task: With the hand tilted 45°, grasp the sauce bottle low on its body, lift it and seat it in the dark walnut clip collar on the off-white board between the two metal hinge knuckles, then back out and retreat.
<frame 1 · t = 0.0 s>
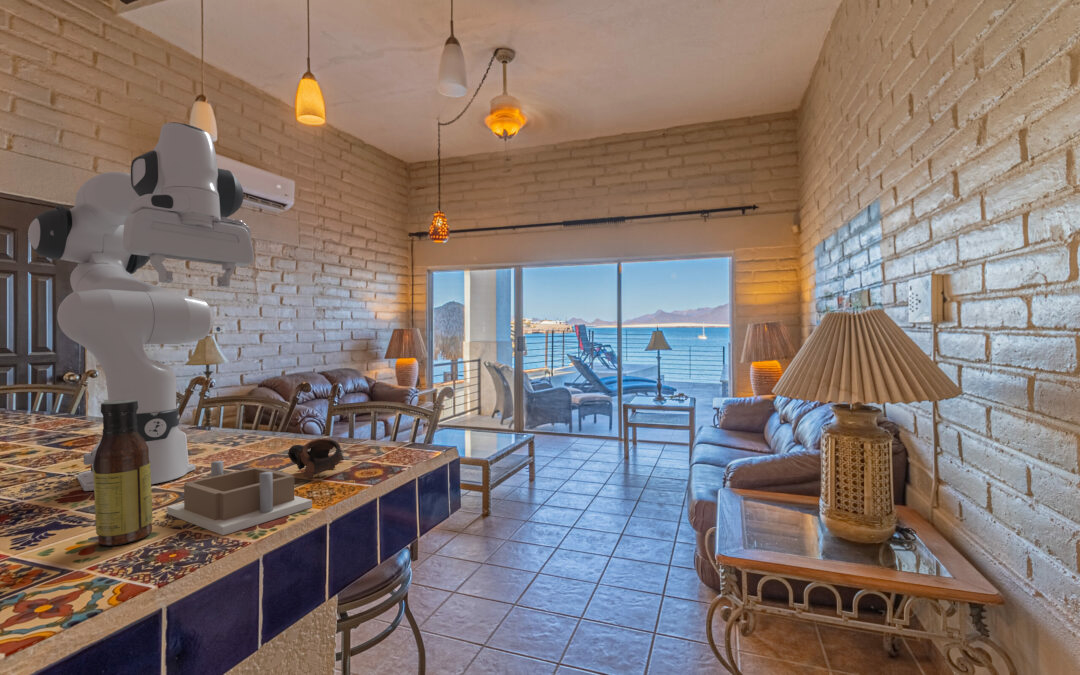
hand: (196, 284, 90), 39 cm above the kitchen counter, tool pointing down, fingers open, 8 cm apart
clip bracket: (240, 510, 82), on the kitchen counter
sauce bottle: (124, 540, 71), on the kitchen counter
pottery mug: (315, 474, 106), on the kitchen counter
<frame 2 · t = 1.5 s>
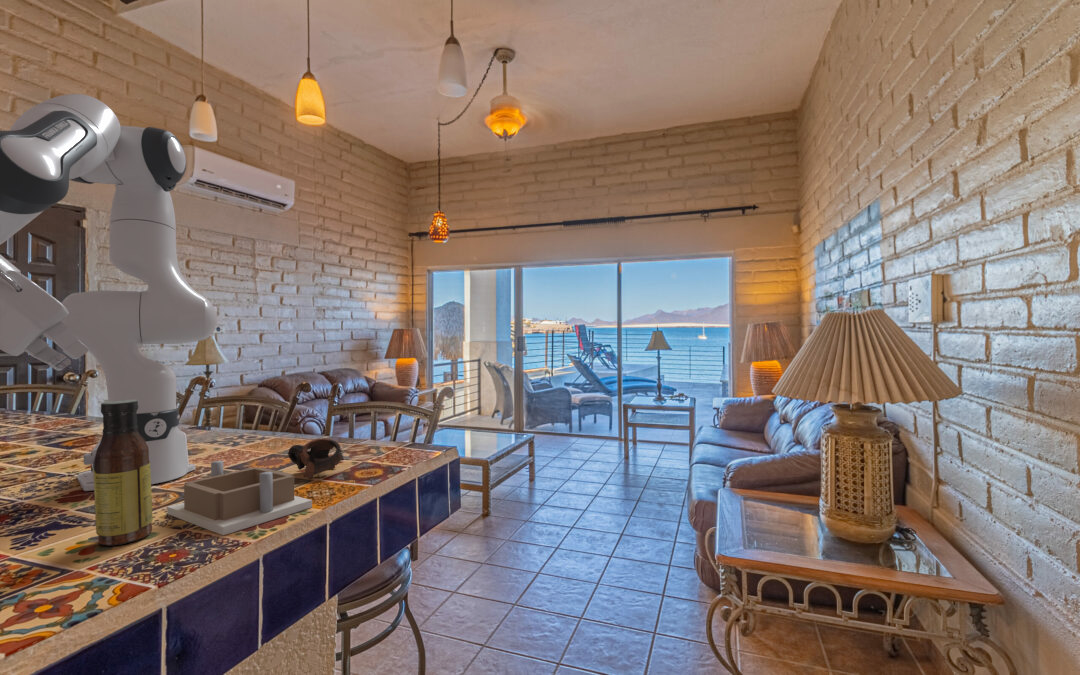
hand: (74, 361, 68), 26 cm above the kitchen counter, tool tilted 40°, fingers open, 8 cm apart
nothing on the kitchen counter moved.
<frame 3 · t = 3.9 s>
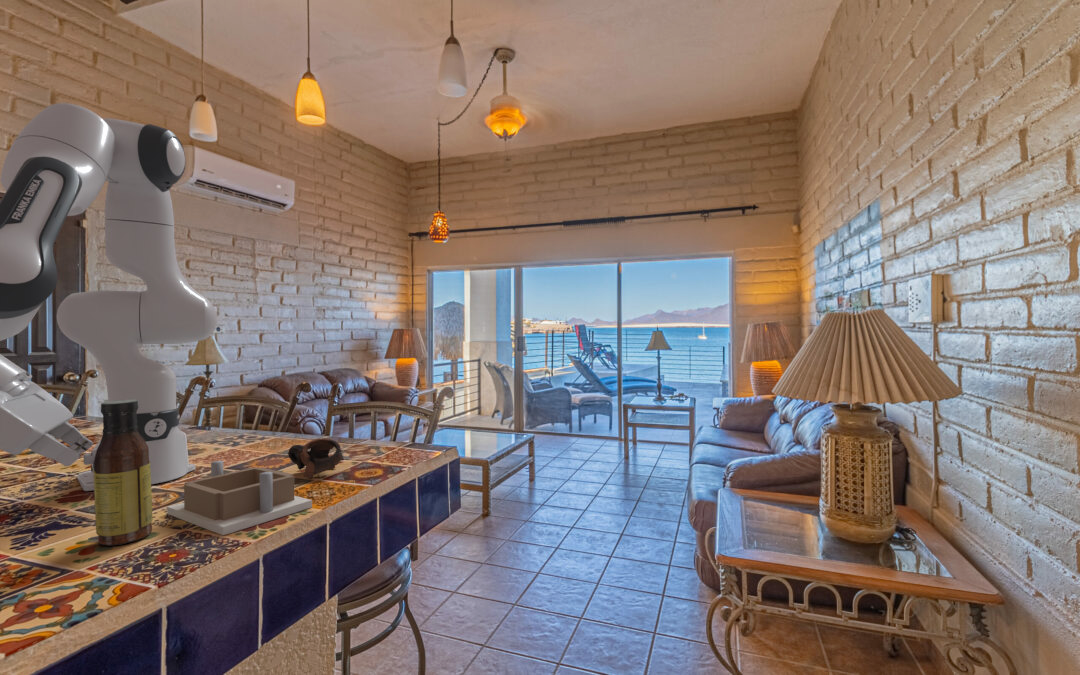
hand: (82, 454, 68), 13 cm above the kitchen counter, tool tilted 45°, fingers open, 8 cm apart
nothing on the kitchen counter moved.
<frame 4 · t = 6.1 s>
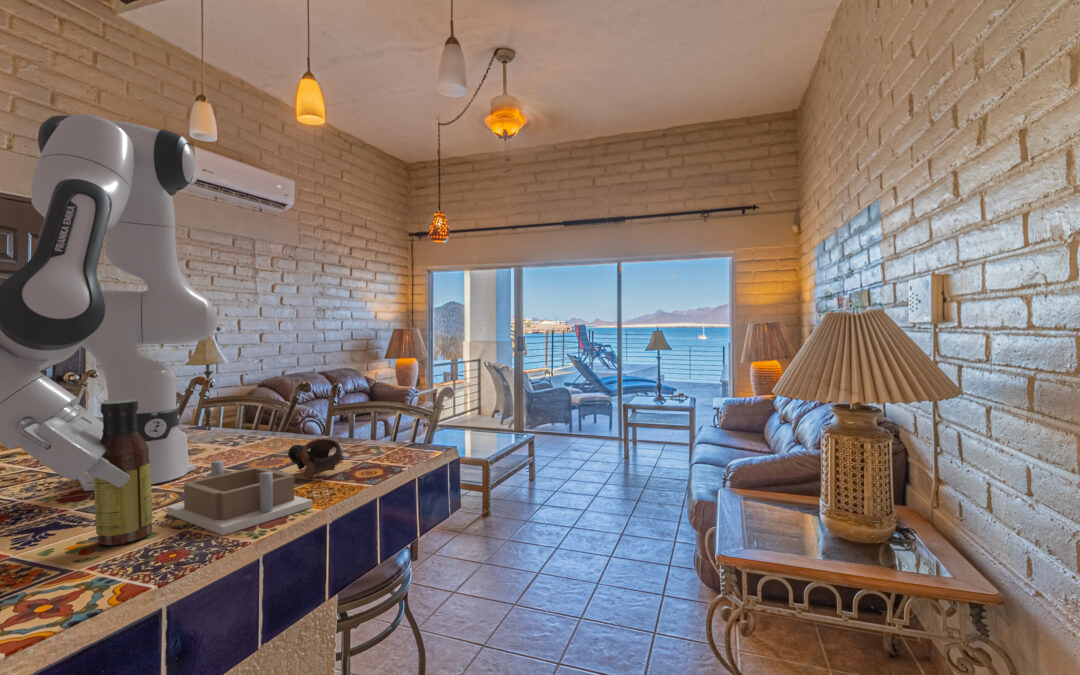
hand: (129, 476, 71), 9 cm above the kitchen counter, tool tilted 45°, fingers closed on sauce bottle, 6 cm apart
sauce bottle: (124, 540, 71), on the kitchen counter, touching gripper
everything else where it was.
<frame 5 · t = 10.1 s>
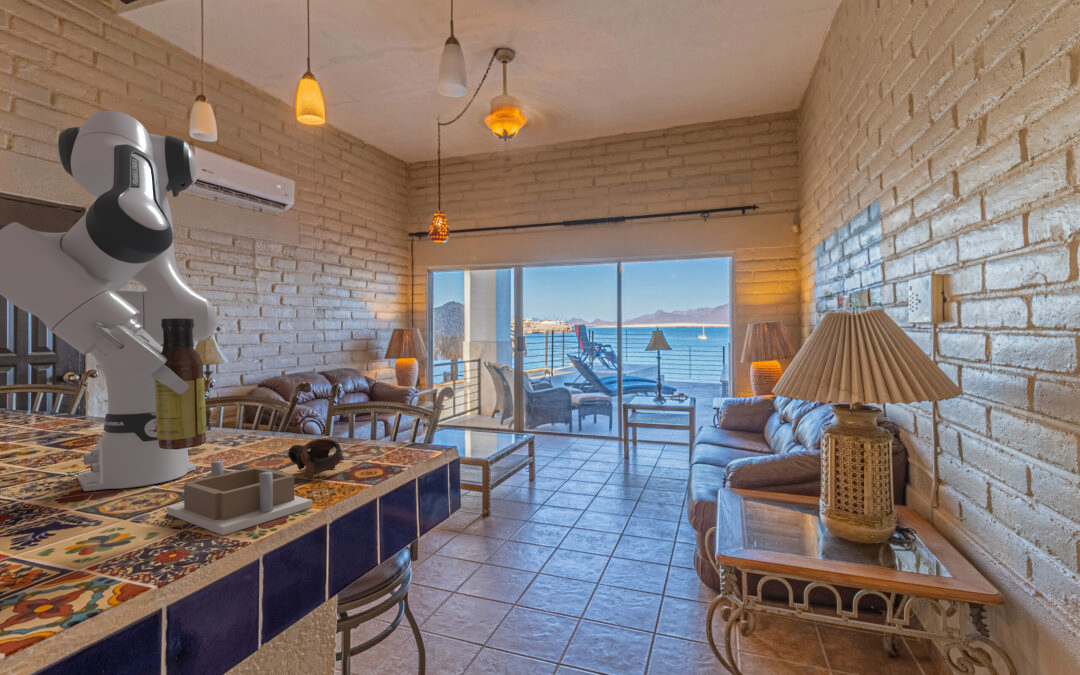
hand: (186, 388, 77), 21 cm above the kitchen counter, tool tilted 45°, fingers closed on sauce bottle, 6 cm apart
sauce bottle: (181, 448, 76), point 12 cm above the kitchen counter, touching gripper
everything else where it was.
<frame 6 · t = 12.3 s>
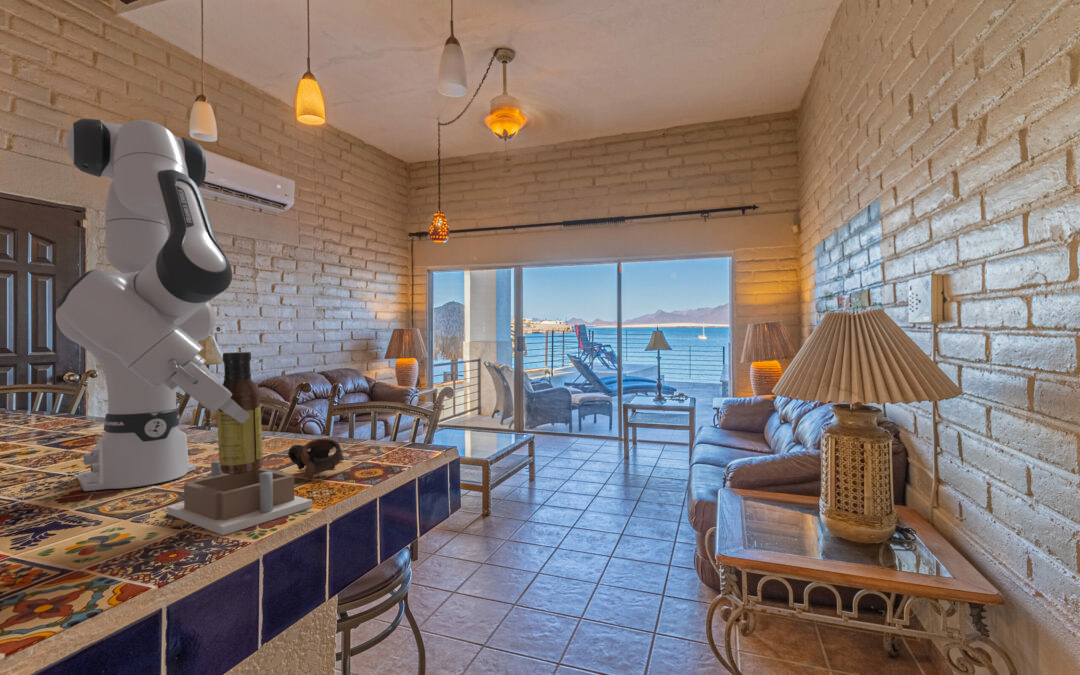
hand: (244, 417, 83), 16 cm above the kitchen counter, tool tilted 45°, fingers closed on sauce bottle, 6 cm apart
sauce bottle: (240, 472, 82), point 6 cm above the kitchen counter, touching gripper
everything else where it was.
when the fingers open (12 cm above the kitchen counter, at t = 14.1 s): sauce bottle drops 1 cm, resting on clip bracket.
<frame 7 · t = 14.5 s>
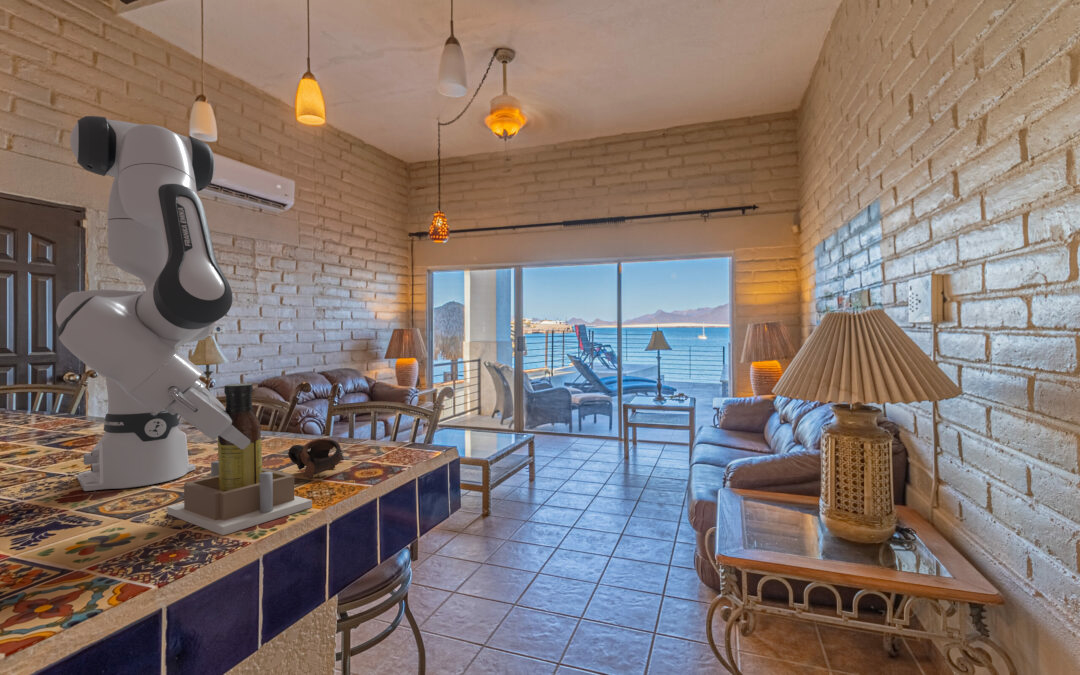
hand: (244, 440, 83), 12 cm above the kitchen counter, tool tilted 45°, fingers open, 8 cm apart
sauce bottle: (240, 504, 82), point 1 cm above the kitchen counter, touching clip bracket
everything else where it was.
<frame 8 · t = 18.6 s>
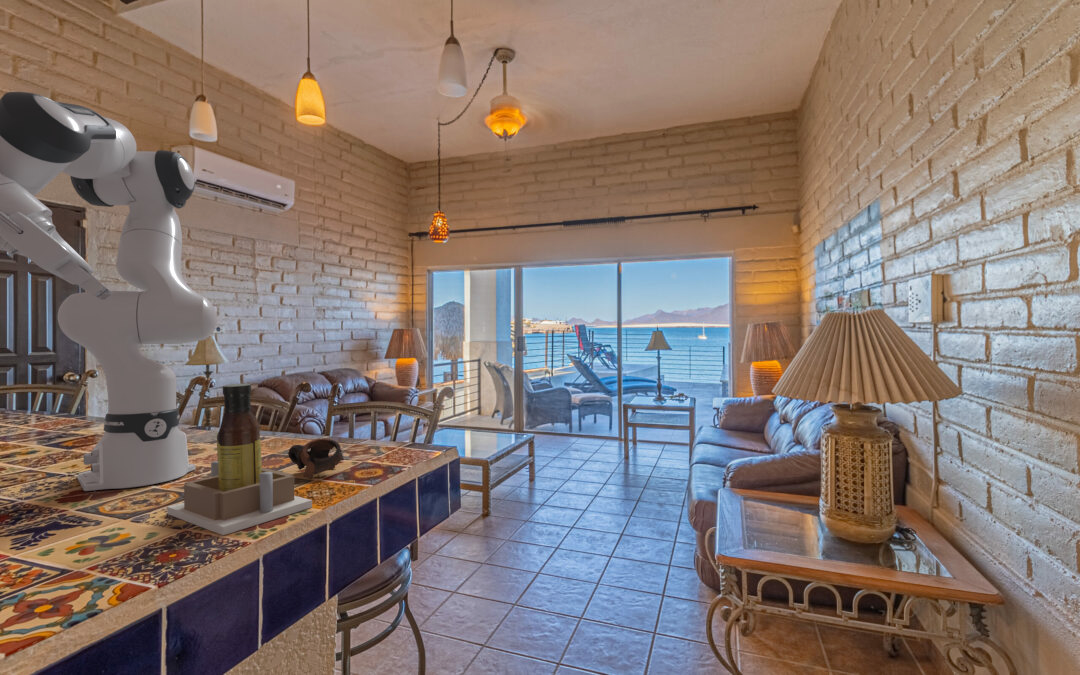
hand: (103, 294, 74), 35 cm above the kitchen counter, tool tilted 45°, fingers open, 8 cm apart
nothing on the kitchen counter moved.
at the end: sauce bottle 0.0 cm off-centre on the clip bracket, point 1.0 cm above the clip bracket's base; sauce bottle tilted 0°; the gripper is holding nothing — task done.
